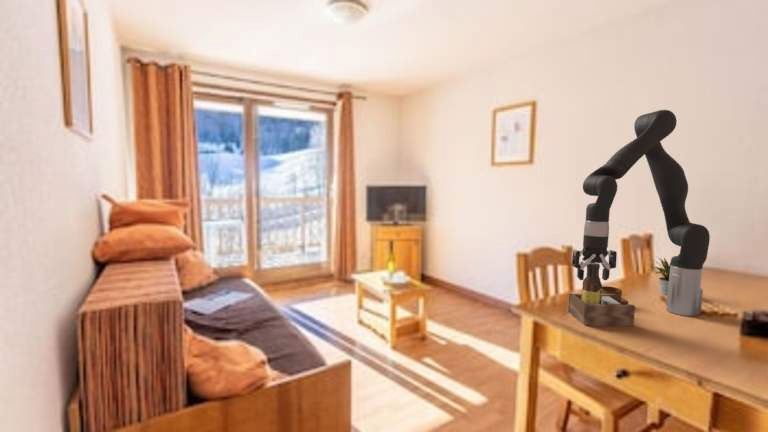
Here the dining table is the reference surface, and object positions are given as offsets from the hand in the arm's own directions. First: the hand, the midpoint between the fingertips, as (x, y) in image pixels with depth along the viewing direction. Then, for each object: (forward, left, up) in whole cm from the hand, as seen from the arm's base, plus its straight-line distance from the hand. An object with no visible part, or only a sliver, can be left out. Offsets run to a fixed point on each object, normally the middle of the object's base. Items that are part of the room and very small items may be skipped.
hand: (592, 279), depth 134 cm
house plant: (-47, -29, -14) cm, 57 cm away
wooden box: (-3, 0, -14) cm, 15 cm away
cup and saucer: (-16, -15, -15) cm, 26 cm away
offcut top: (-6, 0, -11) cm, 13 cm away
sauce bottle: (0, 0, -14) cm, 14 cm away
